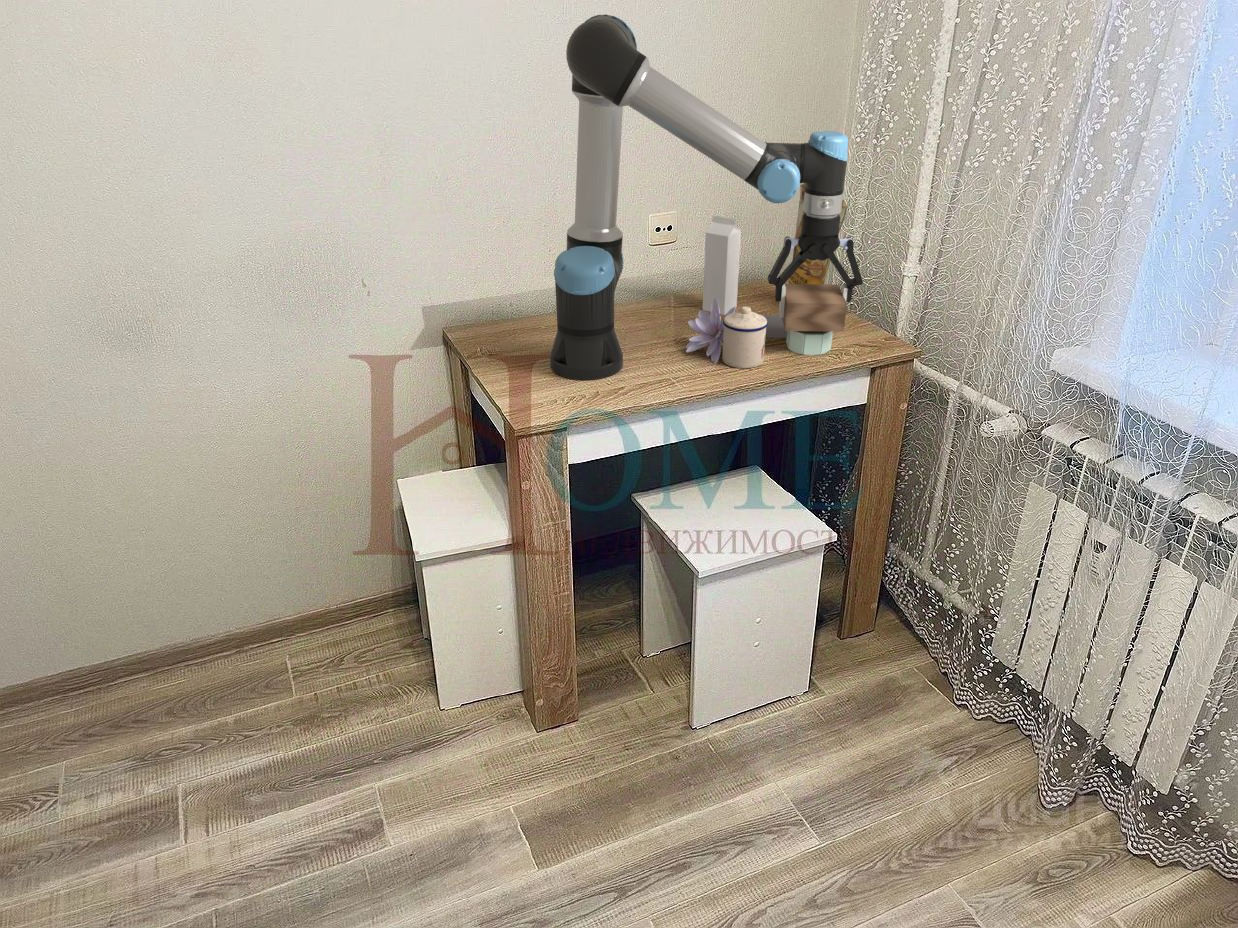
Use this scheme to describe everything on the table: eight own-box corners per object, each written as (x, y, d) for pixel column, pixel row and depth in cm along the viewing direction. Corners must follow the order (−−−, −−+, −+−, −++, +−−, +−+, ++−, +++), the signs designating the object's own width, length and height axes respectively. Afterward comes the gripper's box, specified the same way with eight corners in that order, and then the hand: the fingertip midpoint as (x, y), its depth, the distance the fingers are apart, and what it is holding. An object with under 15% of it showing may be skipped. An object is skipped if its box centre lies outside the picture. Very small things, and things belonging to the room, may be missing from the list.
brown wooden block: (785, 330, 193) (787, 303, 190) (779, 310, 203) (781, 284, 200) (843, 331, 192) (847, 303, 189) (834, 311, 203) (837, 284, 200)
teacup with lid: (771, 366, 192) (775, 313, 186) (730, 371, 190) (733, 317, 184) (749, 345, 202) (753, 294, 196) (710, 349, 200) (712, 298, 194)
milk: (714, 304, 225) (719, 212, 214) (737, 309, 222) (742, 216, 211) (701, 311, 221) (705, 218, 210) (724, 316, 218) (729, 222, 207)
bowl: (790, 356, 197) (792, 334, 194) (784, 340, 205) (786, 318, 202) (832, 357, 197) (835, 334, 194) (825, 340, 205) (827, 319, 202)
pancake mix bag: (803, 296, 229) (814, 180, 216) (836, 323, 213) (851, 200, 200) (777, 298, 228) (786, 182, 214) (809, 326, 212) (821, 202, 198)
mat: (736, 338, 206) (736, 337, 206) (733, 316, 218) (733, 314, 218) (800, 339, 205) (800, 338, 205) (793, 316, 217) (793, 315, 217)
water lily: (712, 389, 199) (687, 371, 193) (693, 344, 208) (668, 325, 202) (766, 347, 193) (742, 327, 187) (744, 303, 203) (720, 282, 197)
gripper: (762, 218, 184) (754, 321, 194) (886, 219, 183) (872, 323, 193) (759, 208, 190) (752, 309, 201) (879, 209, 189) (865, 310, 200)
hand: (811, 316), depth 197 cm, fingers closed on brown wooden block, 12 cm apart
